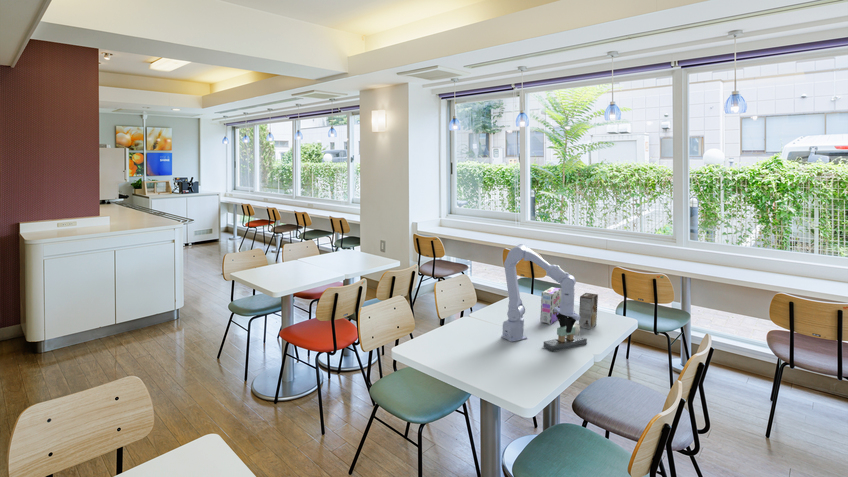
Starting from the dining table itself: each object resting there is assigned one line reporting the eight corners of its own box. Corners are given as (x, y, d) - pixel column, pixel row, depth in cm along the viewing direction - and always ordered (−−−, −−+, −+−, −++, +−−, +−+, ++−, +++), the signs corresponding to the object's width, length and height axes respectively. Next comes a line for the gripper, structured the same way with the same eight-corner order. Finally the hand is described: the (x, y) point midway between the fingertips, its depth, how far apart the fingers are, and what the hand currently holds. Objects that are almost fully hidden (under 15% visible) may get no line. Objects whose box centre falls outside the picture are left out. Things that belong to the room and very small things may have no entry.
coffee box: (584, 322, 241) (585, 292, 239) (596, 324, 237) (598, 294, 235) (578, 326, 234) (579, 296, 231) (590, 329, 230) (592, 298, 227)
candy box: (550, 324, 237) (552, 293, 234) (539, 322, 240) (541, 291, 238) (560, 318, 248) (562, 288, 245) (550, 315, 251) (551, 286, 249)
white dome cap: (572, 337, 219) (572, 327, 218) (562, 333, 225) (563, 323, 224) (582, 335, 222) (582, 325, 221) (572, 331, 227) (572, 321, 227)
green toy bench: (561, 342, 206) (561, 329, 205) (556, 340, 209) (557, 327, 208) (574, 339, 210) (575, 327, 209) (570, 337, 212) (570, 325, 211)
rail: (552, 351, 202) (552, 346, 202) (543, 346, 208) (543, 341, 207) (586, 344, 211) (586, 338, 211) (576, 339, 216) (577, 334, 216)
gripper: (586, 305, 202) (584, 335, 204) (562, 297, 214) (561, 325, 217) (574, 307, 199) (572, 337, 201) (550, 298, 211) (549, 327, 213)
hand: (565, 331), depth 208 cm, fingers closed on green toy bench, 3 cm apart
